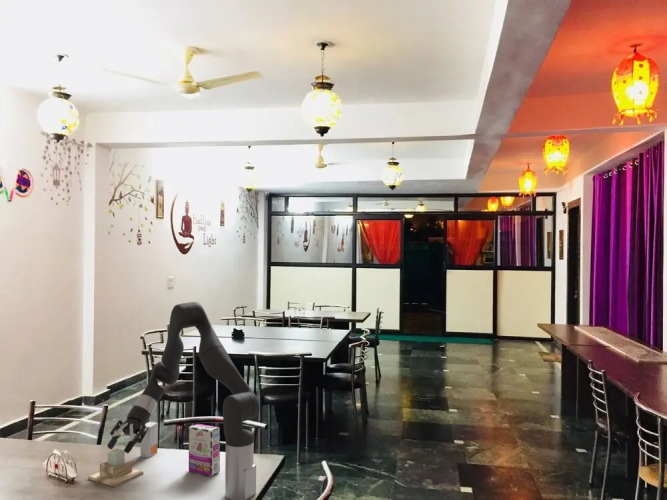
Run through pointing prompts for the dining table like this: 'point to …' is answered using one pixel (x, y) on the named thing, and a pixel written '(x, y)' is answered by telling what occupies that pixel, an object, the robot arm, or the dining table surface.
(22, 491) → the dining table surface
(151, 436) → the skincare box
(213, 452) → the candy bar box
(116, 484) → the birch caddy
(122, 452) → the sage peg
